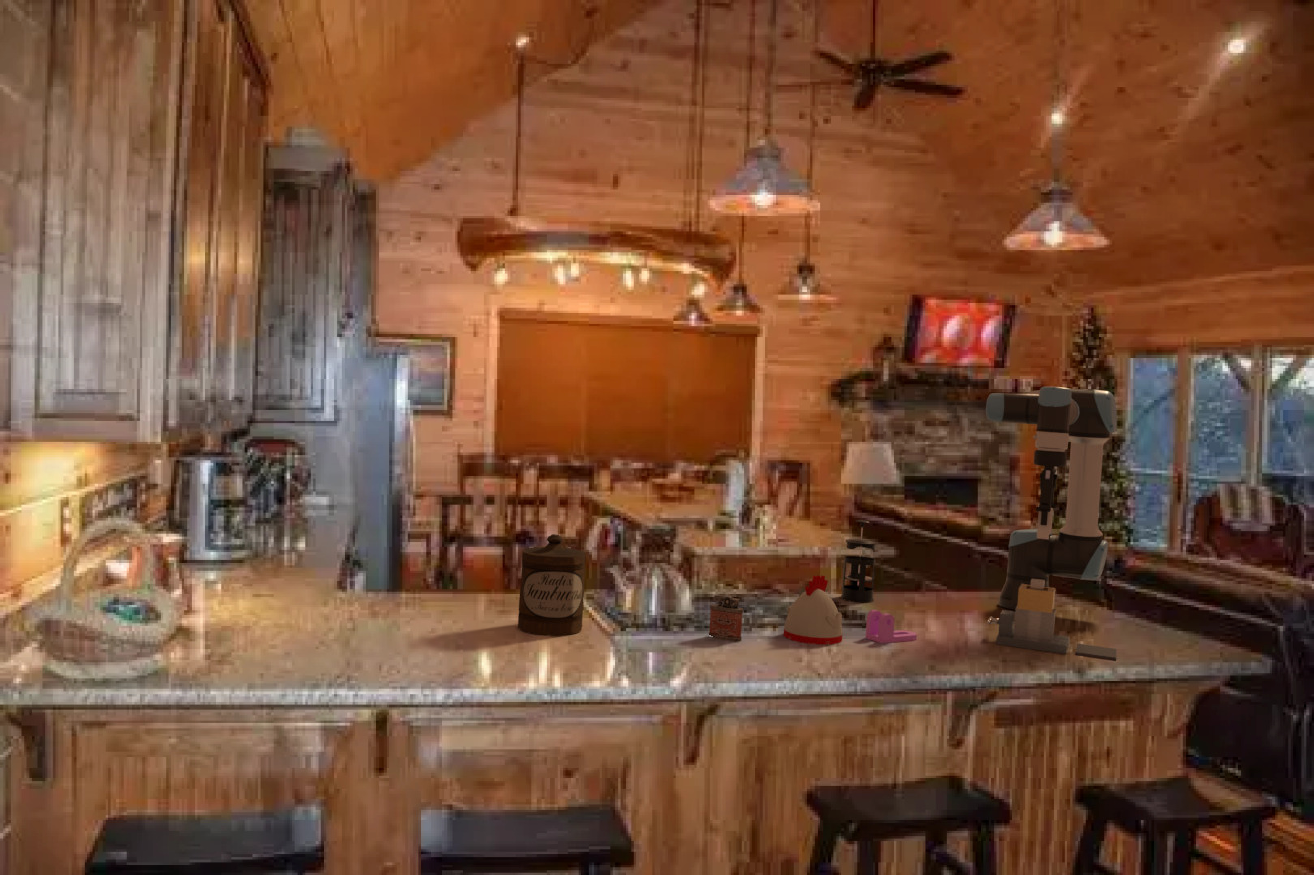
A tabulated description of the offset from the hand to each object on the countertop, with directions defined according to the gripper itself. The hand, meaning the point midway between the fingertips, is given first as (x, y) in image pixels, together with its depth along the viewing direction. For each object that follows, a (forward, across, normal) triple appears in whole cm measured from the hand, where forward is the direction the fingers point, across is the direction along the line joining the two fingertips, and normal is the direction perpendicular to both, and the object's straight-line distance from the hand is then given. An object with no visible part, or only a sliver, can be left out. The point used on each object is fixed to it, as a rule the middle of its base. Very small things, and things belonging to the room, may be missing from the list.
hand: (1044, 536), depth 268 cm
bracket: (+27, +16, -32) cm, 45 cm away
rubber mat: (+27, 0, +14) cm, 30 cm away
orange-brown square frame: (+18, 0, -1) cm, 18 cm away
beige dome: (+27, +28, -49) cm, 63 cm away
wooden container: (+28, +59, -104) cm, 123 cm away
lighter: (+27, +43, -66) cm, 84 cm away
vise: (+27, 0, -2) cm, 27 cm away
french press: (+27, -32, -51) cm, 66 cm away
